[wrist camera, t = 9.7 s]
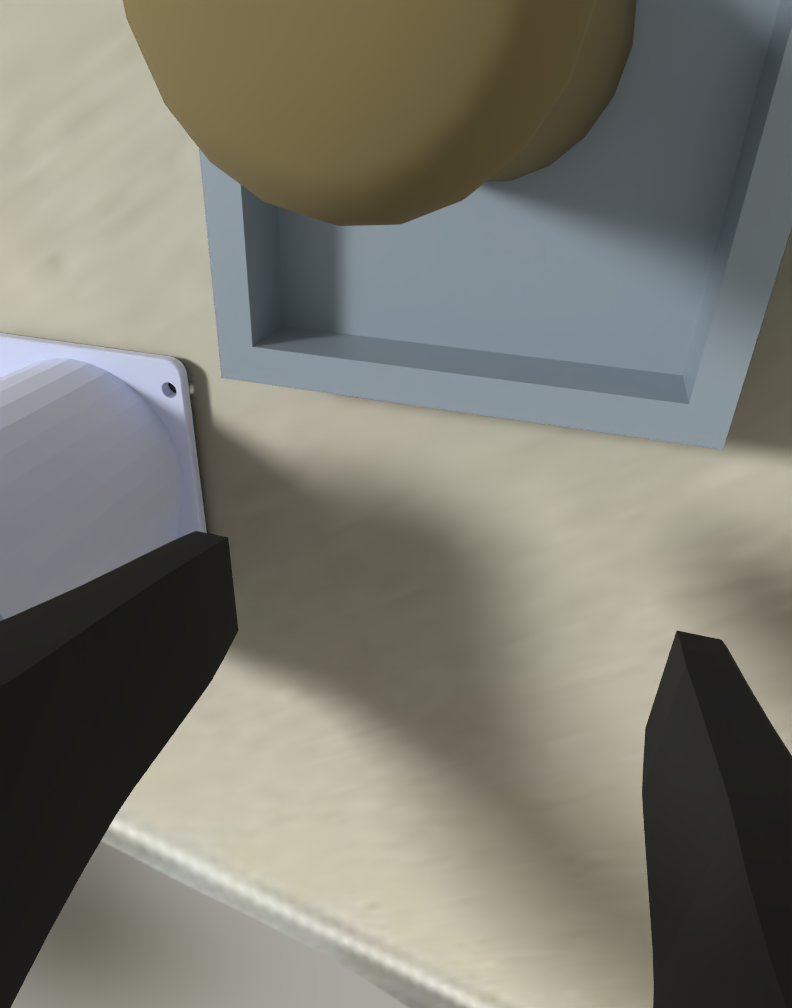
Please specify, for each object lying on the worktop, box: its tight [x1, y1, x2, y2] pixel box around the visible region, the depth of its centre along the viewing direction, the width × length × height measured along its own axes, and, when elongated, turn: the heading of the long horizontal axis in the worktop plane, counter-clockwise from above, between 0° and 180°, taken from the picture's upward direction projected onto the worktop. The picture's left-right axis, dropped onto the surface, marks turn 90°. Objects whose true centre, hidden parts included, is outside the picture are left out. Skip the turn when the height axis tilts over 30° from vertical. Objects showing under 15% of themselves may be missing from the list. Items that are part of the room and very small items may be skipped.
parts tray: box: [199, 0, 792, 450], centre depth 15 cm, size 13×13×2 cm
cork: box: [123, 0, 637, 226], centre depth 11 cm, size 6×6×11 cm
